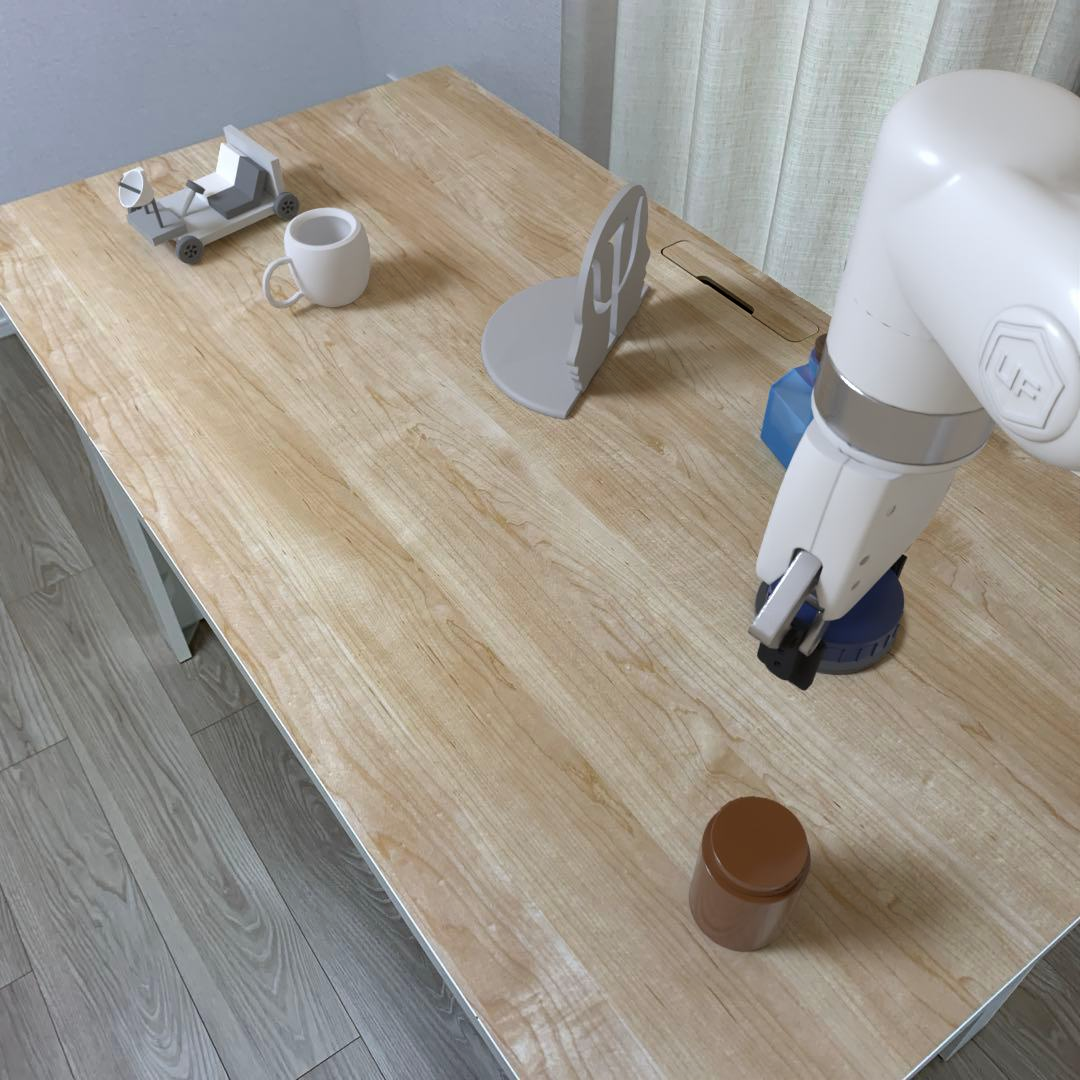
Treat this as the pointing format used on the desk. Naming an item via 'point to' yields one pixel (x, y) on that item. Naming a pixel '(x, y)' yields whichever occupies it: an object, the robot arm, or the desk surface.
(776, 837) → the jar
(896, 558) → the robot arm
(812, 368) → the perfume bottle
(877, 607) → the lid
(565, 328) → the ornament
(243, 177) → the toy car
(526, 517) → the desk surface
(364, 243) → the mug
